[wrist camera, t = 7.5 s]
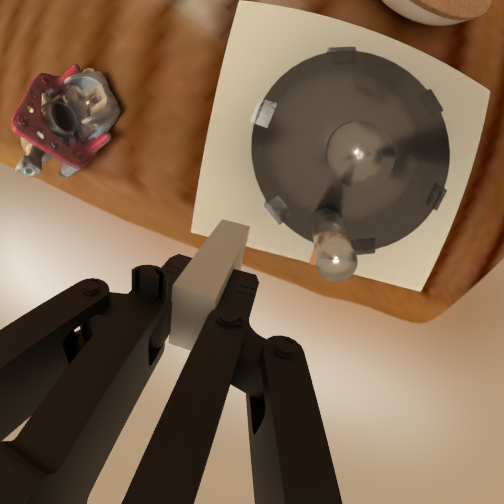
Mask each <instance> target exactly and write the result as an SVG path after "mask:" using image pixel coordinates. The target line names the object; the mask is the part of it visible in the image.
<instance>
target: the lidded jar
mask: <svg viewBox="0 0 504 504" xmlns="http://www.w3.org/2000/svg"><path fill="white" fill-rule="evenodd" d="M381 1H382V2H383V3H385V4H386V5H387V6H388V7H389V8H391V9H392V10H394V11H395V12H397V13H398V14H400V15H402V16H403V17H405V18H408V19H410V20H412V21H415V22H418V23H422V24H427V25H434V26H445V25H453V24H458V23H461V22H464V21H467V20H472V19H475V18H478V17H480V16H482V15H484V14H485V13H486V12H487V11H488V10H489V8H490V6H491V4H492V0H381Z"/></svg>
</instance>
